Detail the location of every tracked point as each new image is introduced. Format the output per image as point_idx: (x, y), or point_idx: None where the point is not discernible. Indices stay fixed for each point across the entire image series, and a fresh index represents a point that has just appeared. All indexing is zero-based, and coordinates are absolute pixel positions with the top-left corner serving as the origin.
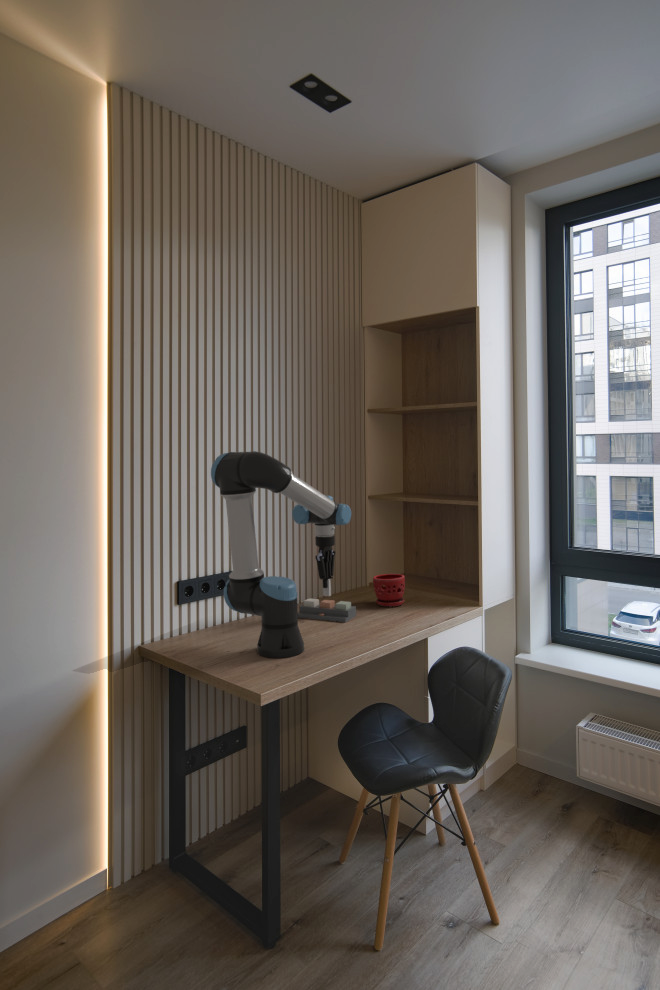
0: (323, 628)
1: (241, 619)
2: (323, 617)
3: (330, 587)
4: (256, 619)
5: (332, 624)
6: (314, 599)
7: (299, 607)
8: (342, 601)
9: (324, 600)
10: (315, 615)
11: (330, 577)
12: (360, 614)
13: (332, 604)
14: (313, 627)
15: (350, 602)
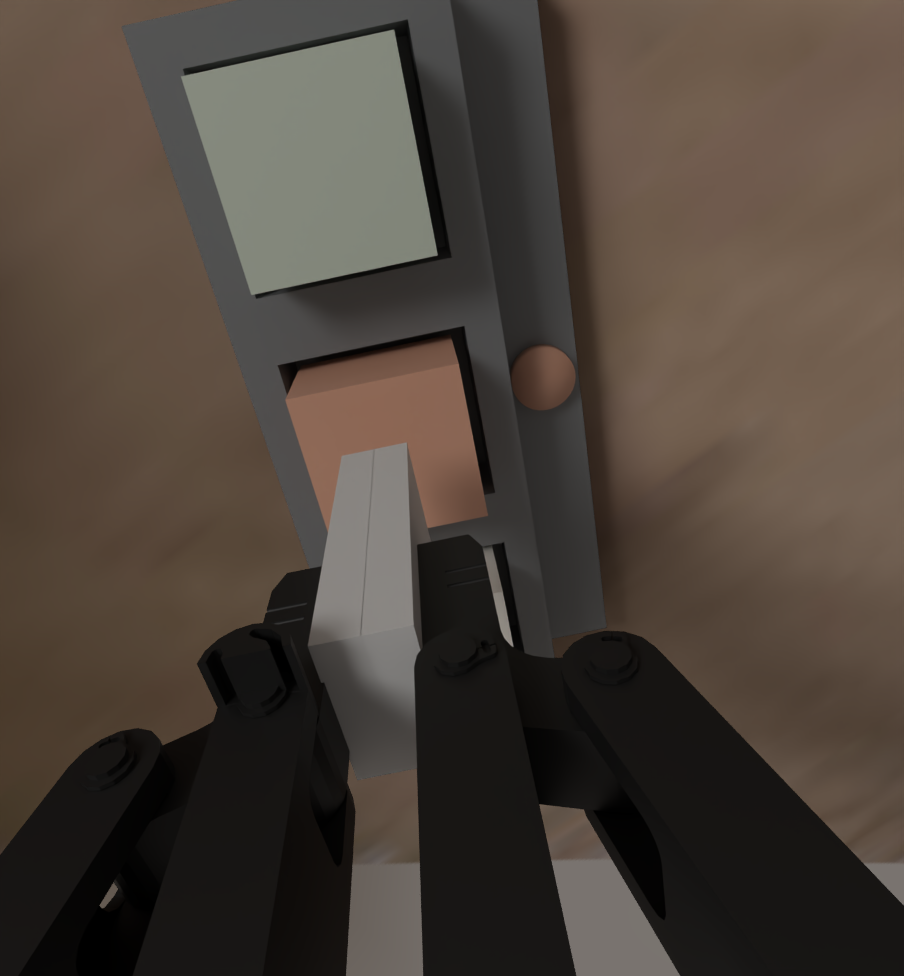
0: (871, 79)
1: None
2: (570, 323)
3: (341, 523)
4: None
5: (673, 93)
6: None
7: None
8: (253, 249)
9: None
10: (580, 431)
11: (303, 672)
12: (57, 53)
13: (366, 371)
14: (863, 223)
15: (203, 72)
